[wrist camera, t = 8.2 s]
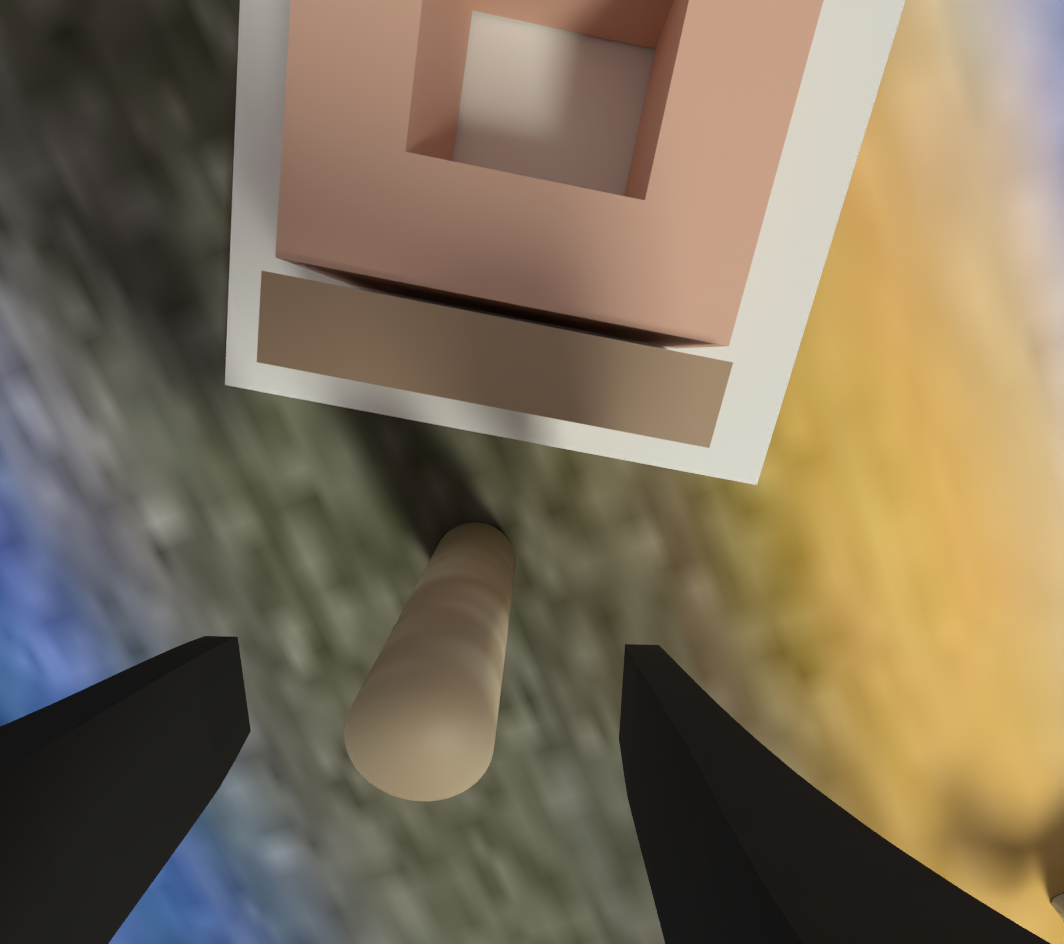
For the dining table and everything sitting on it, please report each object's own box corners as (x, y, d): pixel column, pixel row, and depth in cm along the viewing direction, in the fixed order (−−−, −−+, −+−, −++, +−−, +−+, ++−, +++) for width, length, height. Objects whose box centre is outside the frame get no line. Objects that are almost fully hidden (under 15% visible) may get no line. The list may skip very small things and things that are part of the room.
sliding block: (772, -43, 10) (889, -242, 7) (675, 348, 12) (729, 346, 9) (390, -127, 10) (313, -377, 7) (351, 285, 12) (275, 257, 8)
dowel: (522, 530, 14) (506, 688, 8) (508, 603, 15) (481, 812, 8) (441, 515, 14) (351, 661, 7) (430, 589, 15) (338, 788, 8)
